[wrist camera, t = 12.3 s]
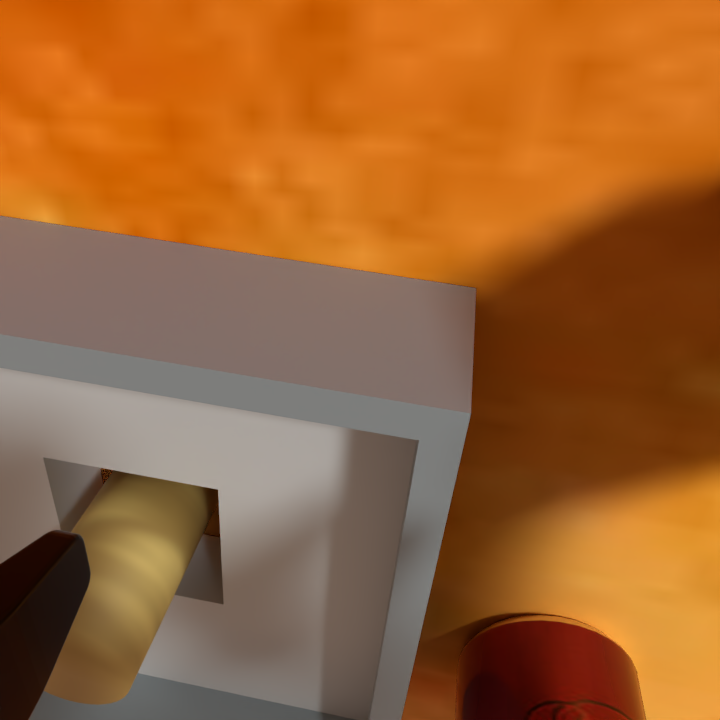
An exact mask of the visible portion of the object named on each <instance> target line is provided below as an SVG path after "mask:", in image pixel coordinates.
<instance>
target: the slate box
mask: <svg viewBox="0 0 720 720" xmlns="http://www.w3.org/2000/svg"><path fill="white" fill-rule="evenodd" d="M475 307H476V288H472V287H466V286H459V285H453V284H446V283H439V282H433V281H426V280H420V279H413V278H406V277H400V276H393V275H387V274H380V273H373V272H367V271H360V270H354V269H347V268H341V267H334V266H327V265H321V264H314V263H308V262H301V261H294V260H288V259H281V258H275V257H268V256H261V255H255V254H248V253H242V252H235V251H228V250H222V249H215V248H209V247H202V246H196V245H189V244H182V243H176V242H169V241H163V240H156V239H149V238H143V237H136V236H130V235H123V234H116V233H110V232H103V231H97V230H90V229H84V228H77V227H70V226H64V225H57V224H51V223H44V222H37V221H31V220H24V219H18V218H11V217H4V216H0V564H1V563H2V562H4V561H5V560H7V559H8V558H10V557H11V556H13V555H14V554H16V553H17V552H19V551H20V550H22V549H23V548H24V547H26V546H27V545H29V544H30V543H32V542H33V541H35V540H36V539H38V538H39V537H41V536H42V535H44V534H46V533H47V532H50V531H52V530H61V531H66V532H71V531H72V529H73V528H74V527H75V525H76V524H77V522H78V521H79V519H80V518H81V516H82V515H83V514H84V512H85V511H86V509H87V508H88V506H89V505H90V503H91V502H92V501H93V499H94V498H95V496H96V495H97V493H98V492H99V490H100V489H101V487H102V486H103V480H102V475H101V469H100V468H104V469H110V470H115V471H120V472H126V473H131V474H137V475H142V476H147V477H153V478H158V479H164V480H169V481H174V482H180V483H185V484H191V485H196V486H201V487H207V488H212V489H218V499H219V520H220V537H215V536H210V535H205V534H203V535H202V538H201V540H200V542H199V544H198V546H197V548H196V550H195V552H194V555H193V557H192V559H191V561H190V563H189V565H188V567H187V569H186V572H185V574H184V576H183V578H182V580H181V582H180V584H179V586H178V588H177V591H176V593H175V595H174V597H173V599H172V601H171V603H170V605H169V608H168V610H167V612H166V614H165V616H164V618H163V620H162V622H161V625H160V627H159V629H158V631H157V633H156V635H155V637H154V639H153V642H152V644H151V646H150V648H149V650H148V652H147V654H146V656H145V658H144V661H143V663H142V665H141V667H140V669H139V671H138V673H137V675H136V678H135V680H134V682H133V684H132V686H131V688H130V690H129V692H128V694H127V695H126V696H125V697H124V698H122V699H121V700H119V701H117V702H113V703H109V704H100V705H95V704H83V703H78V702H73V701H69V700H66V699H63V698H59V697H57V696H54V695H52V694H49V693H47V692H45V691H43V693H42V695H41V697H40V699H39V701H38V703H37V705H36V707H35V709H34V711H33V712H32V714H31V716H30V718H29V720H401V718H402V713H403V709H404V705H405V700H406V696H407V691H408V687H409V683H410V678H411V674H412V670H413V665H414V661H415V656H416V652H417V648H418V643H419V639H420V635H421V630H422V626H423V621H424V617H425V613H426V608H427V604H428V600H429V595H430V591H431V586H432V582H433V578H434V573H435V569H436V565H437V560H438V556H439V551H440V547H441V543H442V538H443V534H444V530H445V525H446V521H447V516H448V512H449V508H450V503H451V499H452V495H453V490H454V486H455V481H456V477H457V473H458V468H459V464H460V460H461V455H462V451H463V446H464V442H465V438H466V433H467V429H468V425H469V420H470V416H471V402H472V378H473V354H474V331H475Z"/></svg>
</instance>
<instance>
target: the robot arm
mask: <svg viewBox="0 0 720 720" xmlns="http://www.w3.org/2000/svg"><path fill="white" fill-rule="evenodd" d="M90 576H91V571H90V566H89V561H88V557H87V552H86V547H85V543H84V539H83V538H82V536H81V535H80V534H77V533H72V532H66V531H61V530H52V531H50V532H47V533H46V534H44V535H42V536H41V537H39V538H38V539H36V540H35V541H33V542H32V543H30V544H29V545H27V546H26V547H24V548H23V549H22V550H20V551H19V552H17V553H16V554H14V555H13V556H11V557H10V558H8V559H7V560H5V561H4V562H2V563H1V564H0V720H29V718H30V716H31V714H32V712H33V711H34V709H35V707H36V705H37V703H38V701H39V699H40V697H41V695H42V693H43V691H44V689H45V687H46V685H47V682H48V680H49V678H50V676H51V673H52V671H53V669H54V666H55V664H56V662H57V659H58V657H59V655H60V652H61V650H62V648H63V645H64V643H65V641H66V638H67V636H68V634H69V631H70V629H71V626H72V624H73V622H74V619H75V617H76V615H77V612H78V610H79V608H80V605H81V603H82V601H83V598H84V596H85V594H86V591H87V589H88V586H89V582H90Z"/></svg>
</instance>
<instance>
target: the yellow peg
mask: <svg viewBox="0 0 720 720" xmlns="http://www.w3.org/2000/svg"><path fill="white" fill-rule="evenodd" d="M218 502H219V499H218V489H212V488H207V487H201V486H196V485H191V484H185V483H180V482H174V481H169V480H164V479H158V478H153V477H147V476H142V475H137V474H131V473H126V472H120V471H115V470H113V472H112V473H111V474H110V476H109V477H108V479H107V480H106V482H105V483H104V485H103V486H102V487H101V489H100V490H99V492H98V493H97V495H96V496H95V498H94V499H93V501H92V502H91V503H90V505H89V506H88V508H87V509H86V511H85V512H84V514H83V515H82V516H81V518H80V519H79V521H78V522H77V524H76V525H75V527H74V528H73V529H72V531H71V532H72V533H77V534H80V535H81V536H82V538H83V539H84V543H85V547H86V552H87V557H88V561H89V566H90V571H91V576H90V582H89V586H88V589H87V591H86V594H85V596H84V598H83V601H82V603H81V605H80V608H79V610H78V612H77V615H76V617H75V619H74V622H73V624H72V626H71V629H70V631H69V634H68V636H67V638H66V641H65V643H64V645H63V648H62V650H61V652H60V655H59V657H58V659H57V662H56V664H55V666H54V669H53V671H52V673H51V676H50V678H49V680H48V682H47V685H46V687H45V689H44V691H45V692H47V693H49V694H52V695H54V696H57V697H59V698H63V699H66V700H69V701H73V702H78V703H83V704H95V705H100V704H109V703H113V702H117V701H119V700H121V699H122V698H124V697H125V696H126V695H127V694H128V692H129V690H130V688H131V686H132V684H133V682H134V680H135V678H136V675H137V673H138V671H139V669H140V667H141V665H142V663H143V661H144V658H145V656H146V654H147V652H148V650H149V648H150V646H151V644H152V642H153V639H154V637H155V635H156V633H157V631H158V629H159V627H160V625H161V622H162V620H163V618H164V616H165V614H166V612H167V610H168V608H169V605H170V603H171V601H172V599H173V597H174V595H175V593H176V591H177V588H178V586H179V584H180V582H181V580H182V578H183V576H184V574H185V572H186V569H187V567H188V565H189V563H190V561H191V559H192V557H193V555H194V552H195V550H196V548H197V546H198V544H199V542H200V540H201V538H202V535H203V533H204V531H205V529H206V527H207V525H208V523H209V521H210V518H211V516H212V514H213V512H214V510H215V508H216V506H217V504H218Z"/></svg>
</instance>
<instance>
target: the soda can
mask: <svg viewBox="0 0 720 720" xmlns="http://www.w3.org/2000/svg"><path fill="white" fill-rule="evenodd" d="M455 720H646V716H645V711H644V706H643V701H642V696H641V690H640V685H639V680H638V675H637V671H636V668H635V666H634V664H633V662H632V660H631V658H630V657H629V655H628V654H627V653H626V652H625V651H624V650H623V648H622V647H621V646H620V645H618V644H617V643H616V642H614V641H613V640H612V639H610V638H609V637H608V636H607V635H605V634H604V633H603V632H601V631H599V630H597V629H595V628H593V627H591V626H589V625H587V624H584V623H581V622H579V621H576V620H573V619H568V618H563V617H558V616H549V615H525V616H519V617H513V618H508V619H505V620H502V621H499V622H496V623H494V624H492V625H490V626H488V627H486V628H484V629H483V630H482V631H481V632H480V633H478V634H477V635H476V636H475V637H473V638H472V639H471V640H470V641H469V642H468V643H467V645H466V646H465V647H464V649H463V650H462V652H461V654H460V657H459V660H458V666H457V688H456V709H455Z"/></svg>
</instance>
